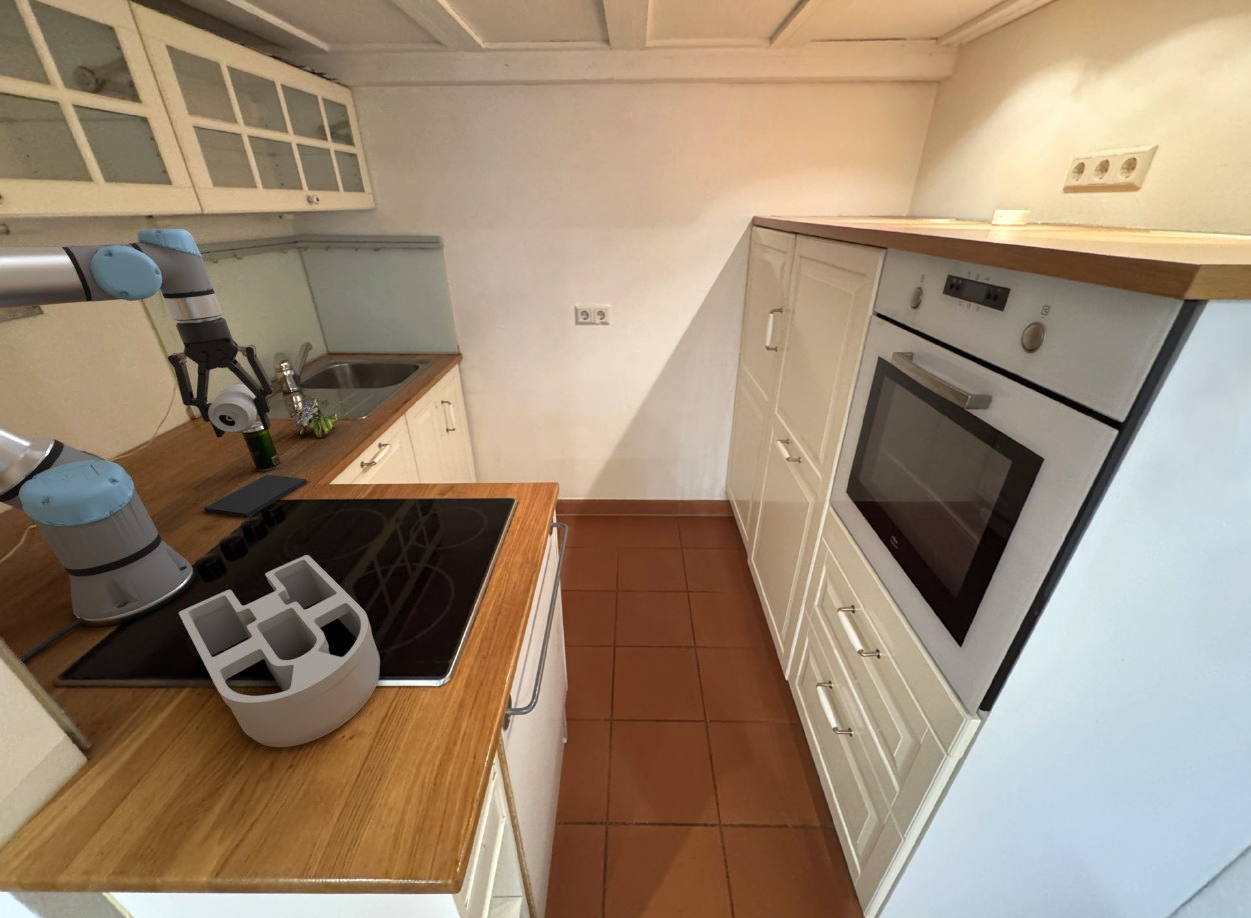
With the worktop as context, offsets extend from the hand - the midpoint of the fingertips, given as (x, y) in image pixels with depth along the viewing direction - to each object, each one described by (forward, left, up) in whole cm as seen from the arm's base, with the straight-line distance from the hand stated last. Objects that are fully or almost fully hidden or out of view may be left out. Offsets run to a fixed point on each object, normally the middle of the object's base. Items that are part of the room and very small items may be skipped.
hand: (244, 431), depth 104 cm
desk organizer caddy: (-36, -43, -18) cm, 59 cm away
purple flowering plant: (+39, +25, -18) cm, 49 cm away
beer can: (+16, +19, -18) cm, 31 cm away
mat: (+3, +8, -18) cm, 20 cm away
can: (+5, +4, +5) cm, 8 cm away
